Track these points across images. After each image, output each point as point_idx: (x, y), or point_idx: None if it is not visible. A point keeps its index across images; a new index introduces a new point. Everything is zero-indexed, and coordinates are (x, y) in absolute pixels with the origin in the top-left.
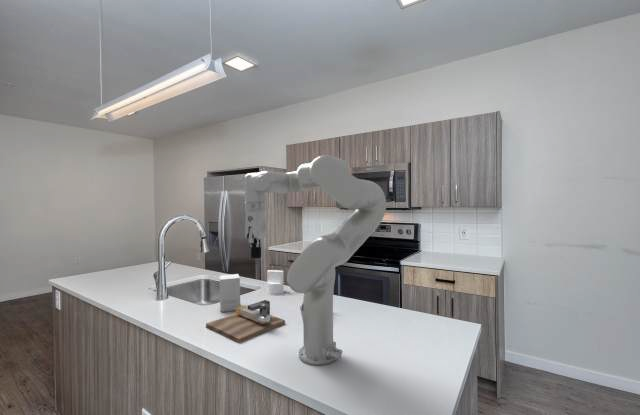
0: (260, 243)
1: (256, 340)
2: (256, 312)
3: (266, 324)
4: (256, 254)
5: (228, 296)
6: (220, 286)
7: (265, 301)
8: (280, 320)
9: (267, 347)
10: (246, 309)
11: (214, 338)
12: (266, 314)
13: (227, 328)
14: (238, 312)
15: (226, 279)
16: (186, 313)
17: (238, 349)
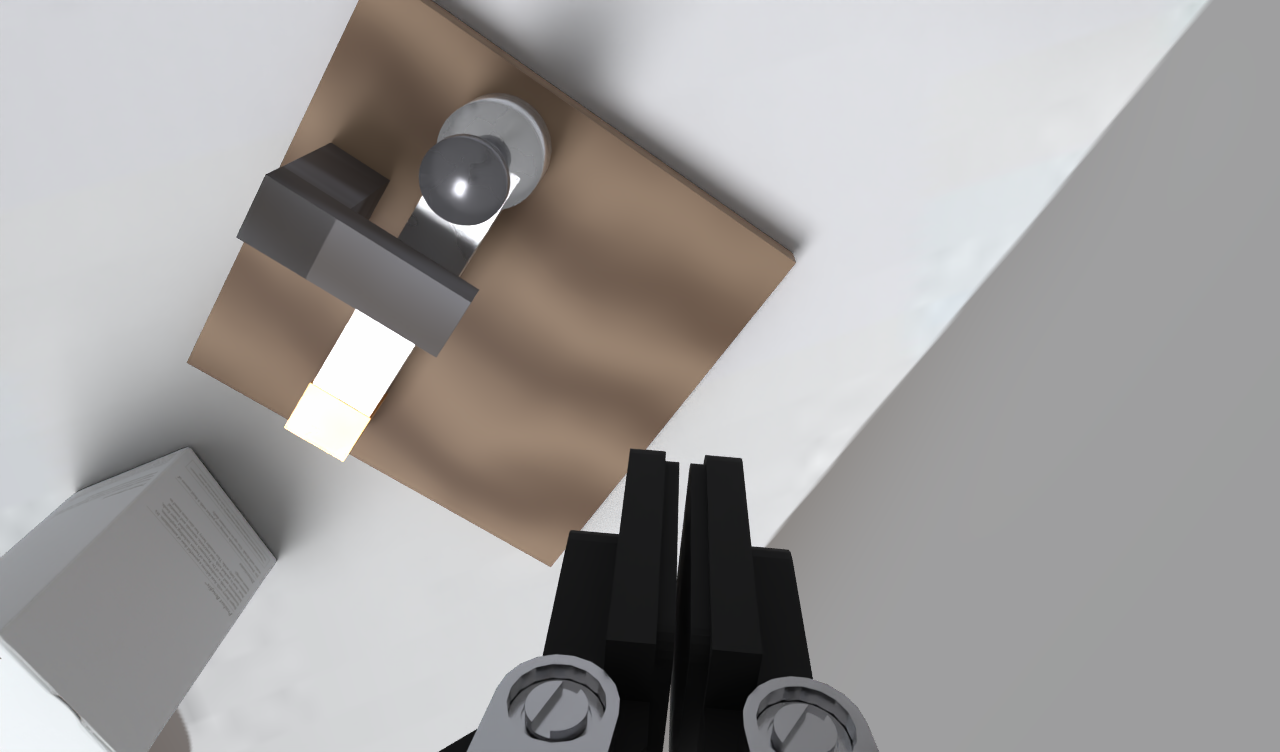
0: (578, 748)
1: (742, 137)
2: None
3: None
4: (790, 566)
5: (183, 592)
6: (170, 714)
7: (281, 219)
8: (391, 14)
9: (863, 9)
10: (360, 367)
11: (720, 437)
12: (492, 140)
13: (618, 404)
14: (370, 420)
15: (95, 727)
16: (358, 736)
17: (887, 225)
